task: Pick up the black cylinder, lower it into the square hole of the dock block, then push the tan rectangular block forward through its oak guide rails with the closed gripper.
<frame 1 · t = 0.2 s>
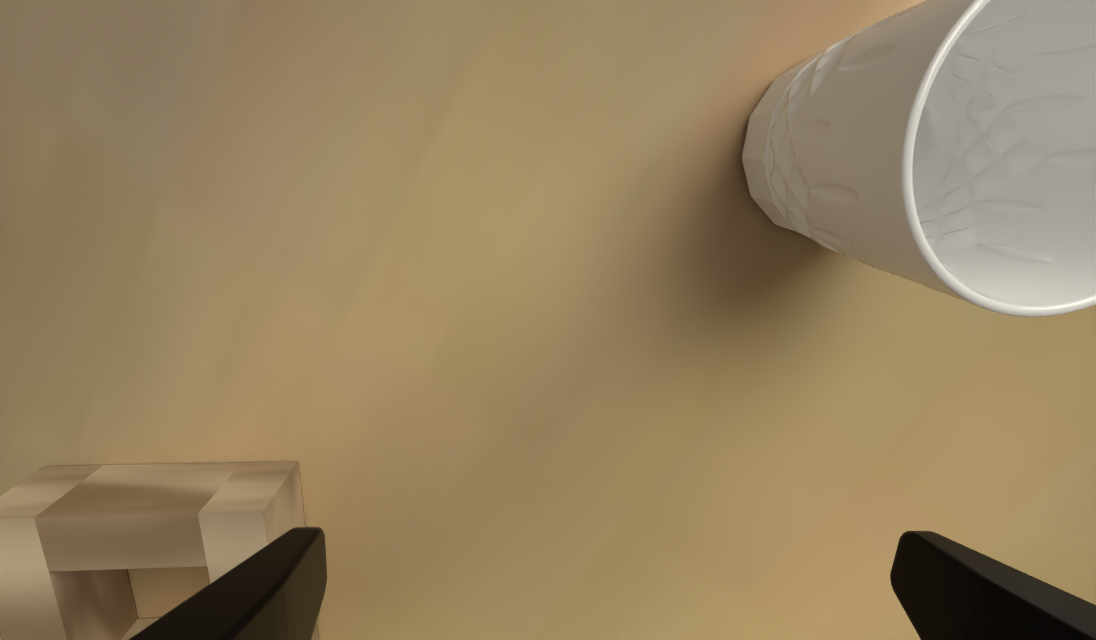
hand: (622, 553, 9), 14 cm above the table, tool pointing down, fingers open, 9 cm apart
dock block: (192, 565, 24), on the table
white cup: (822, 147, 22), on the table
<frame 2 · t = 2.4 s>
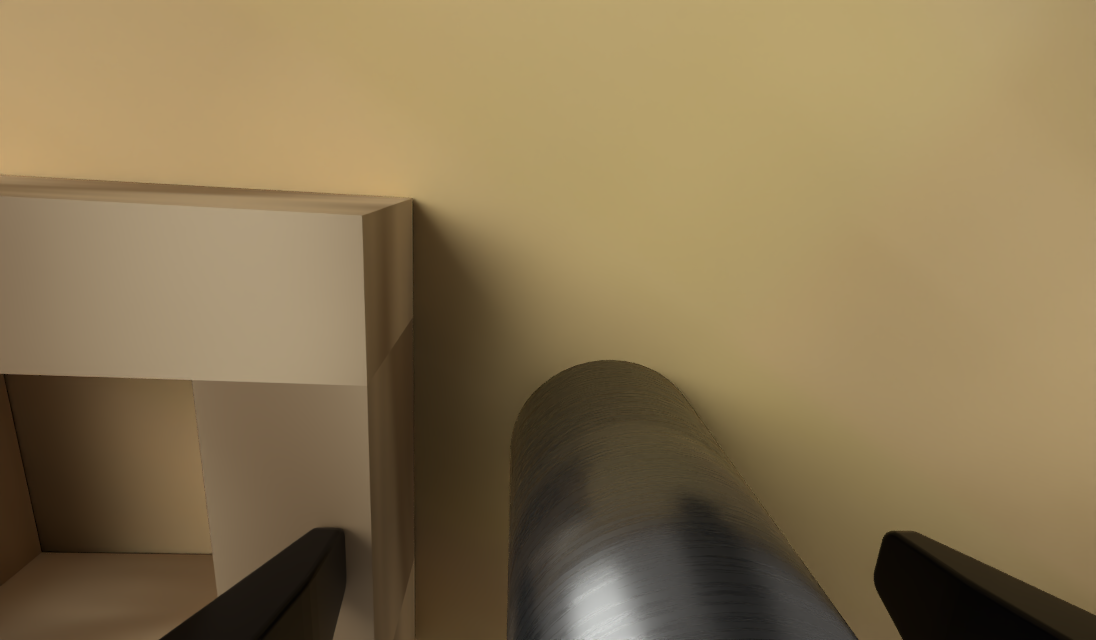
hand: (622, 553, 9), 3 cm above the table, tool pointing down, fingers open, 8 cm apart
dock block: (161, 437, 11), on the table
black cylinder: (604, 448, 12), on the table
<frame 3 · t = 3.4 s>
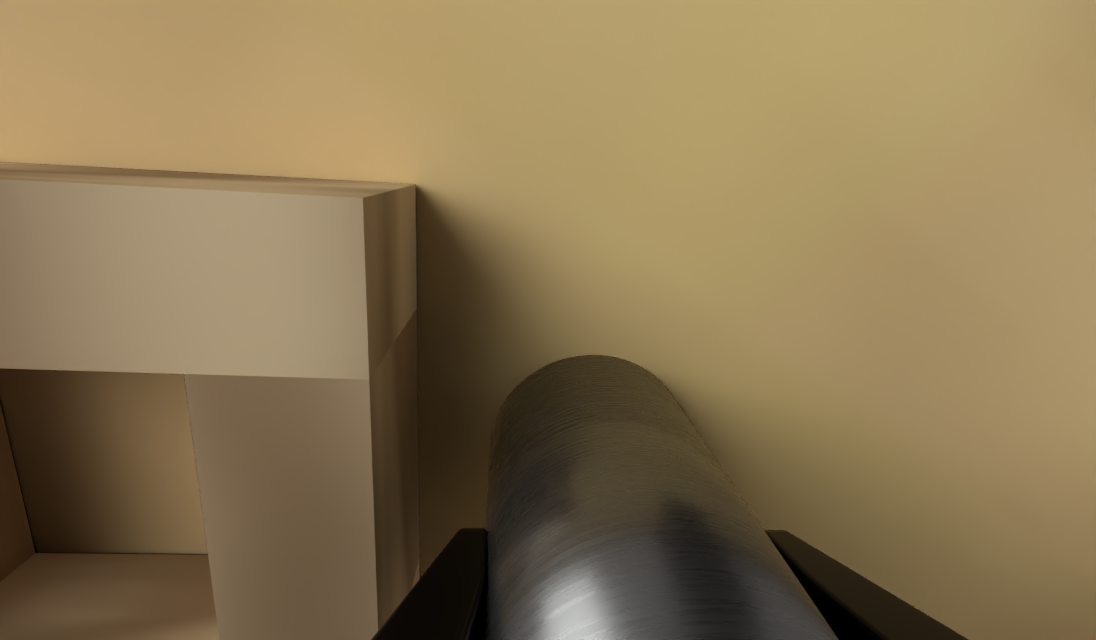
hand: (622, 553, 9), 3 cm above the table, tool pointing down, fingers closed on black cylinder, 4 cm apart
dock block: (157, 434, 11), on the table
black cylinder: (588, 447, 11), on the table, touching gripper
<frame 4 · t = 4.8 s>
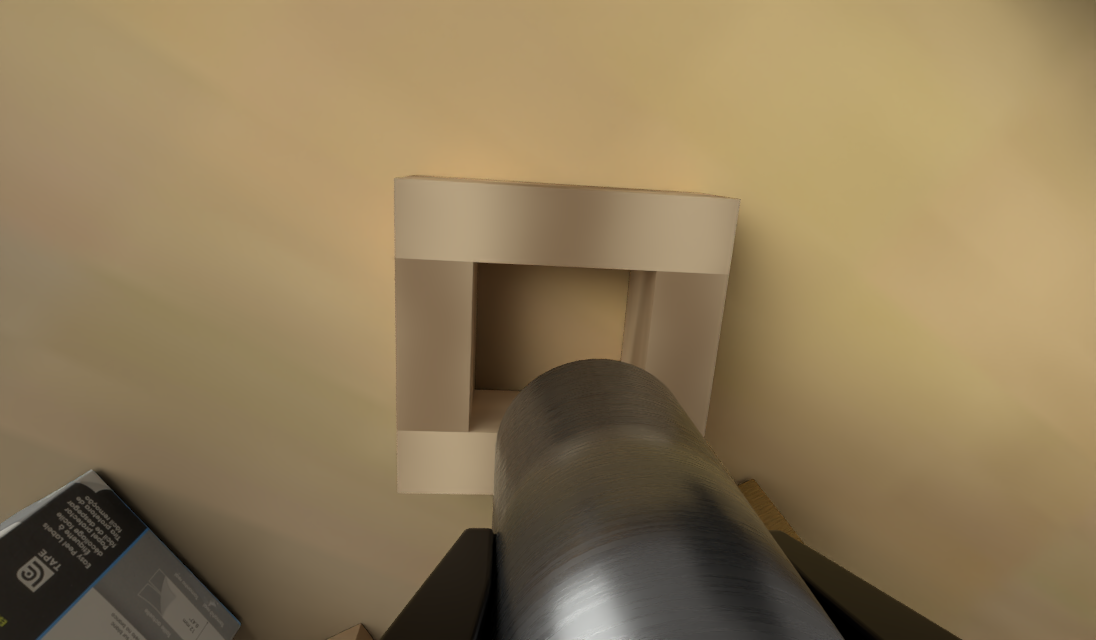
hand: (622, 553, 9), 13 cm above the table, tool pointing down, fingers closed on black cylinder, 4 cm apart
label tape box: (138, 566, 23), on the table
pin guide: (724, 533, 24), on the table
dock block: (551, 322, 21), on the table
black cylinder: (593, 450, 11), point 10 cm above the table, touching gripper
tan rectangular block: (641, 618, 22), point 2 cm above the table, slide at 0.0 cm
when the fingers open (5 cm above the table, at t = 6.4 s): black cylinder drops 2 cm, resting in dock block.
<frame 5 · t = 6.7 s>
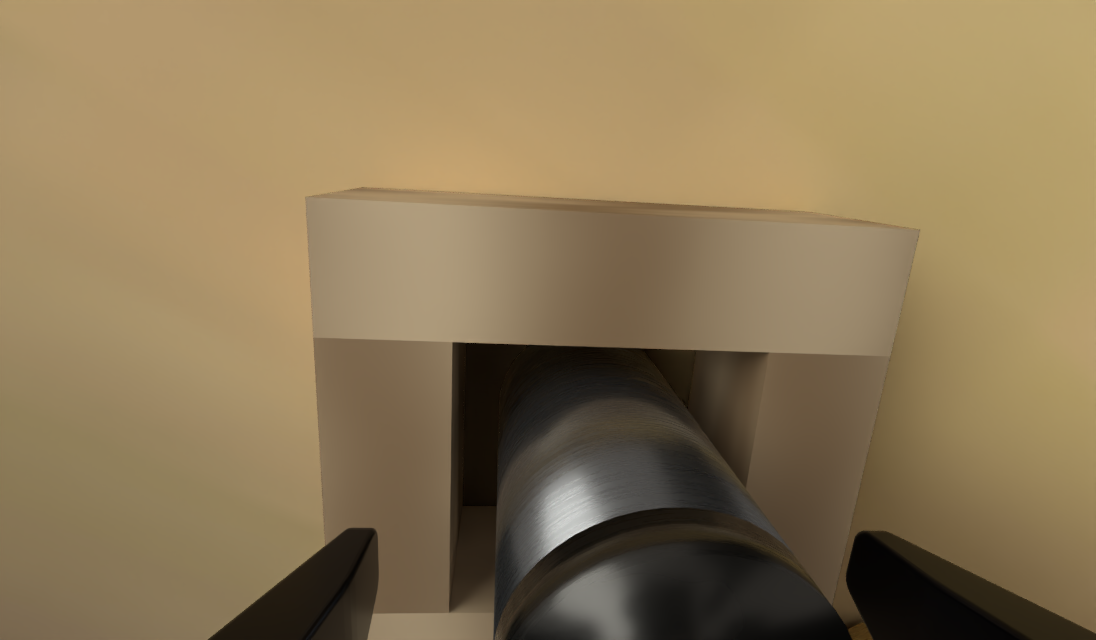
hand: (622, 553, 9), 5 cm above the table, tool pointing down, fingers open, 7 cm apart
dock block: (577, 408, 14), on the table
black cylinder: (581, 404, 14), resting in dock block
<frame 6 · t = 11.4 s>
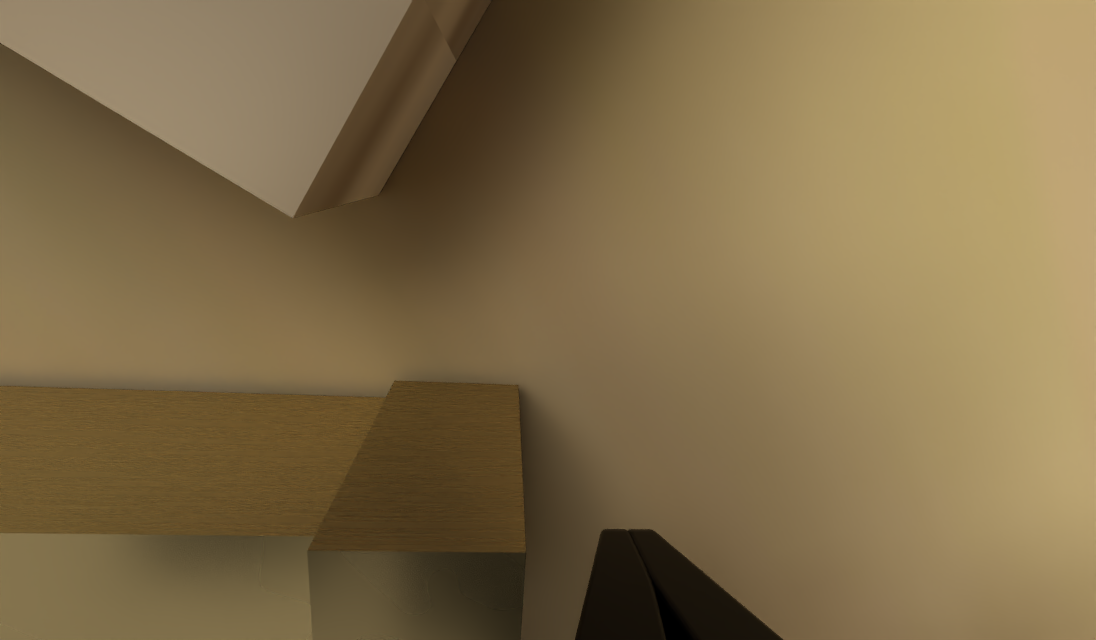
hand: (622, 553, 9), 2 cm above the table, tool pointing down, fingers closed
tan rectangular block: (11, 576, 7), point 2 cm above the table, slide at 0.4 cm, touching gripper
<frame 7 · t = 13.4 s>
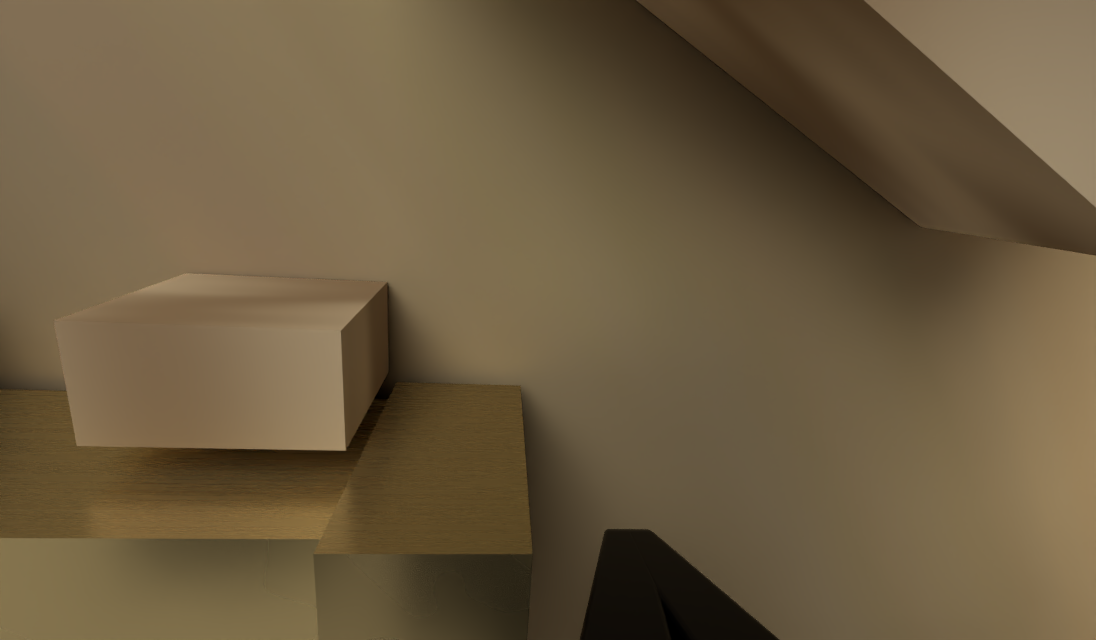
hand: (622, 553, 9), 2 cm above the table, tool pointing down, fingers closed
pin guide: (886, 492, 11), on the table
tan rectangular block: (13, 580, 7), point 2 cm above the table, slide at 9.0 cm, touching gripper
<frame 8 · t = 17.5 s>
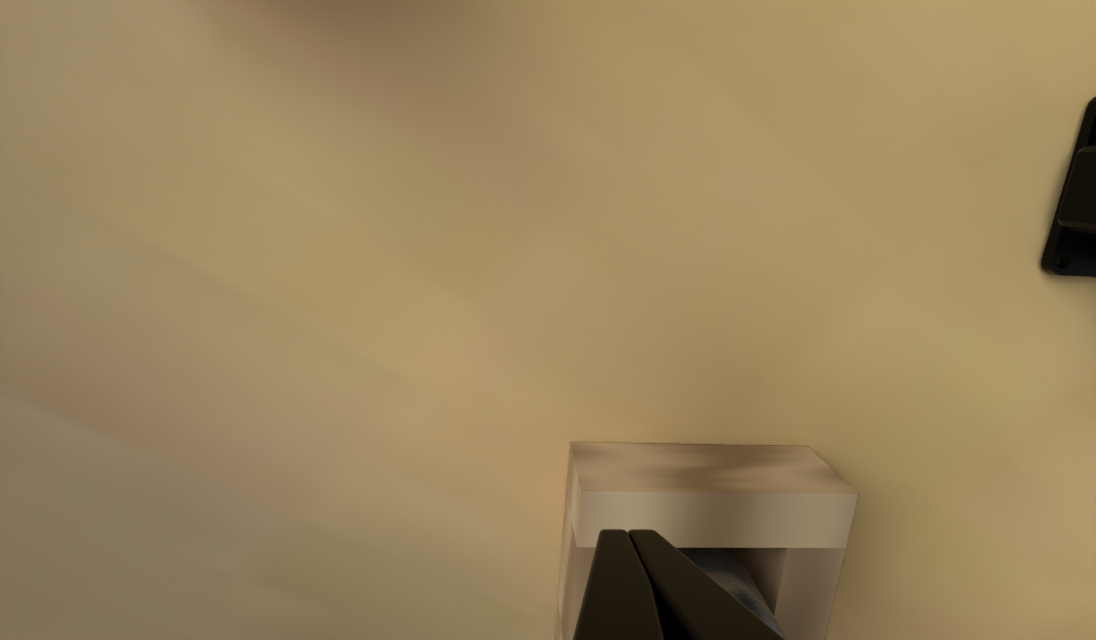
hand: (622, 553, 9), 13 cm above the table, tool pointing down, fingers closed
dock block: (676, 548, 24), on the table
black cylinder: (678, 545, 24), resting in dock block
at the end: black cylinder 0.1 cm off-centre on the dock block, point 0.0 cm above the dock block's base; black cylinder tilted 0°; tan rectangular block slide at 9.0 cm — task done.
